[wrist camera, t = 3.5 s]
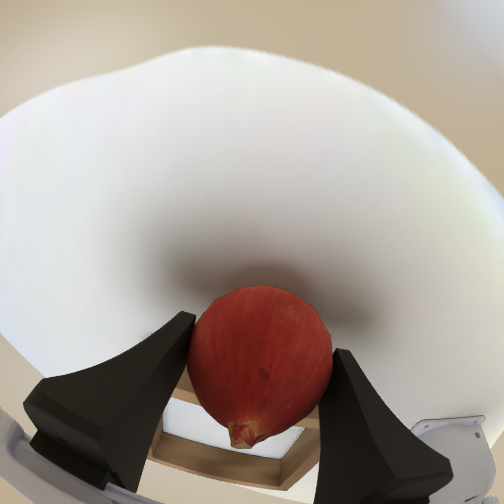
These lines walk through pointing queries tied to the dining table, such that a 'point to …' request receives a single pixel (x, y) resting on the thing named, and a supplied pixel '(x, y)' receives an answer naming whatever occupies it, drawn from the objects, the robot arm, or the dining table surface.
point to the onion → (259, 362)
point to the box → (233, 463)
